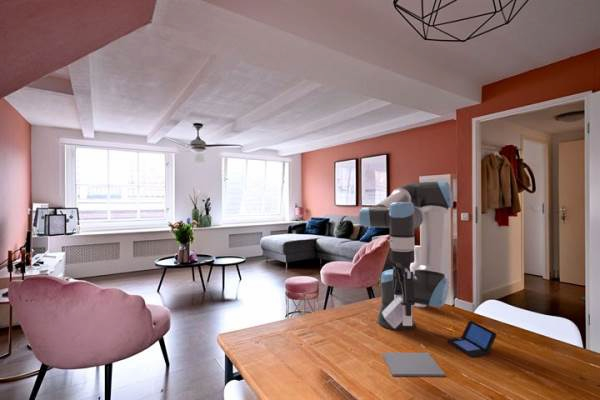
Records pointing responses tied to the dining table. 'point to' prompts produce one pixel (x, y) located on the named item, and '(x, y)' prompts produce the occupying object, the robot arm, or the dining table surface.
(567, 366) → the dining table surface
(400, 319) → the medicine box
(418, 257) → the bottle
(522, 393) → the dining table surface
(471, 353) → the handheld game console
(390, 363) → the mat
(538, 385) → the dining table surface
